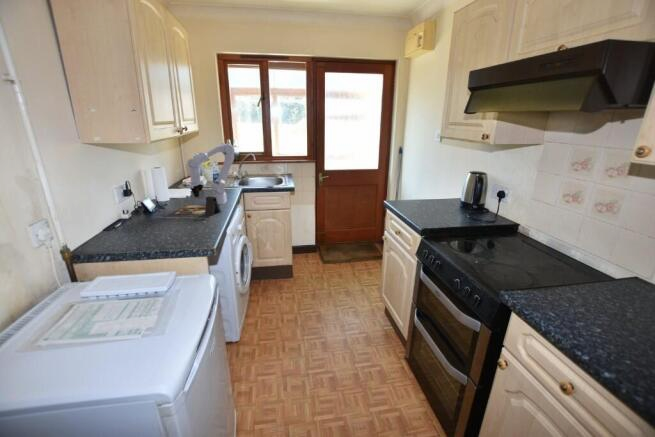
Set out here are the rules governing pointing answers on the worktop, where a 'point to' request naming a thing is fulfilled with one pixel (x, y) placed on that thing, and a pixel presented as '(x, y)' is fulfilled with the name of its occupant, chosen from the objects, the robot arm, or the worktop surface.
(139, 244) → the worktop surface
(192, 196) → the bar
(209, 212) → the phone stand
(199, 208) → the board
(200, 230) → the worktop surface
